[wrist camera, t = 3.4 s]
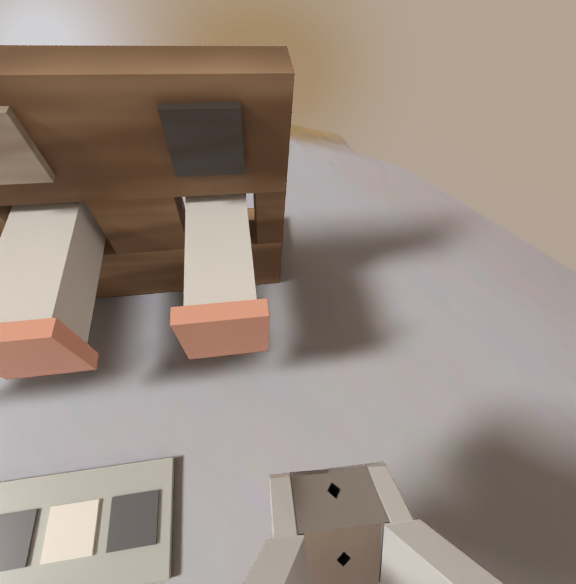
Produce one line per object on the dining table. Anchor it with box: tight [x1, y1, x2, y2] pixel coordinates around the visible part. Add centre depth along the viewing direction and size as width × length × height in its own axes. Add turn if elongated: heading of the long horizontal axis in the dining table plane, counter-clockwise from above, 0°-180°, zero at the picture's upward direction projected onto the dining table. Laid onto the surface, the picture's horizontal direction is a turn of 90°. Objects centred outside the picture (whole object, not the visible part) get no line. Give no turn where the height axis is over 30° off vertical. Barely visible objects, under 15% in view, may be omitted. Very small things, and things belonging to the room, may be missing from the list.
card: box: [0, 457, 174, 584], centre depth 16 cm, size 5×9×1 cm, turn 98°
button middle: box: [0, 202, 106, 380], centre depth 16 cm, size 9×4×4 cm, turn 8°
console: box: [0, 45, 294, 298], centre depth 18 cm, size 6×23×14 cm, turn 98°
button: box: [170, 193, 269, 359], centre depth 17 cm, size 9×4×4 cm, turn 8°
